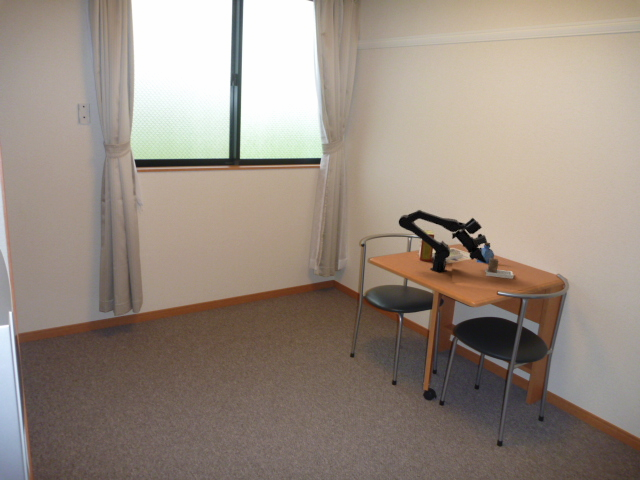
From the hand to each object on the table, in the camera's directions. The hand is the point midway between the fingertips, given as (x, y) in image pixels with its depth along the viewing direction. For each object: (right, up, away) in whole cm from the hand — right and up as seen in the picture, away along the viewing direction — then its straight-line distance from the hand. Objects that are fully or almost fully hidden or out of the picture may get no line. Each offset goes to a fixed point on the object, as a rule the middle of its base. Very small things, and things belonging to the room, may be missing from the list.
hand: (485, 262), depth 249 cm
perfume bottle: (+8, -2, +23) cm, 25 cm away
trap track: (+7, -8, 0) cm, 10 cm away
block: (+3, -6, +1) cm, 7 cm away
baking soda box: (-25, +1, +28) cm, 38 cm away
